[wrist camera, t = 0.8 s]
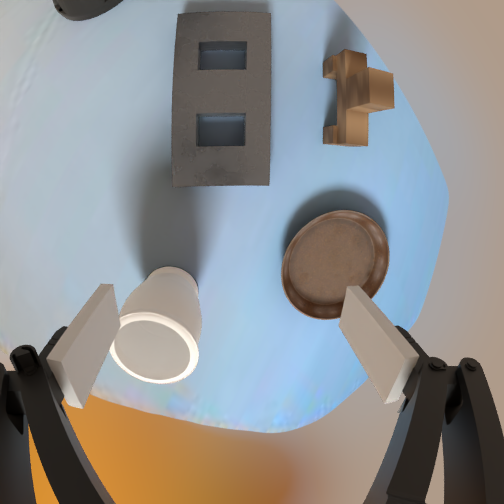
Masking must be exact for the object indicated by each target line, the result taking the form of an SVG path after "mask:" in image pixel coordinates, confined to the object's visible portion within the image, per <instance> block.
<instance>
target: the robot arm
mask: <svg viewBox="0 0 504 504" xmlns="http://www.w3.org/2000/svg"><path fill="white" fill-rule="evenodd" d="M122 1H123V0H53V3H54V6H55V8H56V10H57V11H58V12H59V13H60V14H61V15H62V16H64V17H65V18H67V19H69V20H73V21H81V20H87V19H91V18H94V17H96V16H99V15H101V14H103V13H105V12H107V11H109V10H110V9H112V8H113V7H115V6H116V5H118V4H119V3H120V2H122ZM120 327H121V324H120V319H119V314H118V309H117V304H116V299H115V293H114V287H113V284H101V285H100V286H99V287H98V288H97V290H96V291H95V292H94V293H93V295H92V296H91V297H90V299H89V300H88V301H87V302H86V304H85V305H84V306H83V308H82V309H81V310H80V312H79V313H78V314H77V316H76V317H75V318H74V320H73V321H72V322H71V324H70V325H69V327H65V326H63V327H62V328H60V329H59V330H57V331H56V332H55V334H54V335H53V336H52V338H51V339H50V340H49V342H48V344H46V346H45V347H44V349H43V350H42V351H41V353H40V354H39V356H38V354H37V352H36V350H35V348H34V347H33V346H31V345H22V346H19V347H17V348H16V349H14V350H13V351H12V353H11V354H10V360H11V362H12V364H13V366H14V368H15V370H16V371H6V369H5V367H4V365H3V364H2V363H0V504H36V499H35V493H34V487H33V480H32V473H31V463H30V453H29V434H28V424H29V427H30V431H31V434H32V437H33V440H34V443H35V446H36V449H37V452H38V455H39V457H40V460H41V463H42V466H43V468H44V471H45V473H46V476H47V478H48V480H49V483H50V485H51V487H52V489H53V491H54V494H55V496H56V498H57V500H58V502H59V504H116V503H115V502H114V501H113V499H112V498H111V496H110V495H109V493H108V492H107V490H106V488H105V487H104V485H103V484H102V482H101V480H100V479H99V477H98V475H97V474H96V472H95V470H94V469H93V467H92V465H91V463H90V462H89V460H88V458H87V456H86V454H85V452H84V450H83V448H82V446H81V444H80V442H79V440H78V438H77V436H76V434H75V432H74V430H73V428H72V426H71V424H70V421H69V419H68V417H67V414H66V412H65V410H64V407H63V405H62V404H61V402H62V400H63V398H64V397H65V399H66V401H67V403H68V405H69V406H73V407H77V408H82V409H83V408H84V405H85V403H86V401H87V398H88V396H89V394H90V391H91V389H92V387H93V384H94V382H95V380H96V377H97V375H98V373H99V371H100V369H101V366H102V364H103V362H104V360H105V358H106V356H107V353H108V351H109V349H110V347H111V345H112V343H113V341H114V339H115V337H116V335H117V333H118V331H119V329H120ZM339 328H340V329H341V331H342V333H343V334H344V336H345V338H346V339H347V341H348V343H349V344H350V346H351V348H352V349H353V351H354V353H355V354H356V356H357V358H358V359H359V361H360V363H361V364H362V366H363V368H364V370H365V371H366V373H367V375H368V376H369V378H370V380H371V382H372V383H373V385H374V387H375V388H376V390H377V392H378V394H379V395H380V397H381V399H382V401H383V402H384V404H386V403H390V402H394V401H397V400H398V399H399V397H400V395H401V393H402V391H403V393H404V394H405V396H406V398H405V400H404V402H403V403H402V405H401V407H400V409H399V410H398V413H400V414H399V418H398V421H397V424H396V427H395V430H394V433H393V436H392V438H391V441H390V444H389V447H388V449H387V452H386V454H385V457H384V459H383V462H382V464H381V466H380V469H379V471H378V473H377V476H376V478H375V480H374V482H373V485H372V487H371V489H370V491H369V493H368V495H367V497H366V499H365V501H364V503H363V504H426V503H425V498H426V494H427V491H428V488H429V485H430V481H431V477H432V474H433V469H434V465H435V461H436V457H437V452H438V447H439V442H440V437H441V431H442V442H443V456H444V504H504V437H503V433H502V429H501V425H500V421H499V418H498V414H497V410H496V407H495V404H494V401H493V398H492V394H491V392H490V389H489V386H488V383H487V380H486V377H485V374H484V372H483V369H482V367H481V365H480V363H478V362H477V361H476V360H475V359H473V358H463V359H462V360H461V362H460V364H459V365H458V366H447V364H446V363H445V362H444V361H443V360H441V359H439V358H436V357H429V356H428V355H427V354H426V353H425V352H424V351H423V349H422V348H421V347H420V346H419V345H418V344H417V343H416V342H415V340H414V339H413V338H411V335H410V334H409V333H408V332H407V331H406V330H405V329H403V328H401V327H400V326H394V325H393V324H392V323H391V321H390V320H389V319H388V318H387V317H386V316H385V314H384V313H383V312H382V311H381V310H380V309H379V308H378V307H377V305H376V304H375V303H374V302H373V301H372V300H371V299H370V298H369V296H368V295H367V294H366V293H365V292H364V291H363V290H362V289H361V288H360V286H347V290H346V295H345V300H344V304H343V309H342V313H341V318H340V322H339Z"/></svg>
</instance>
